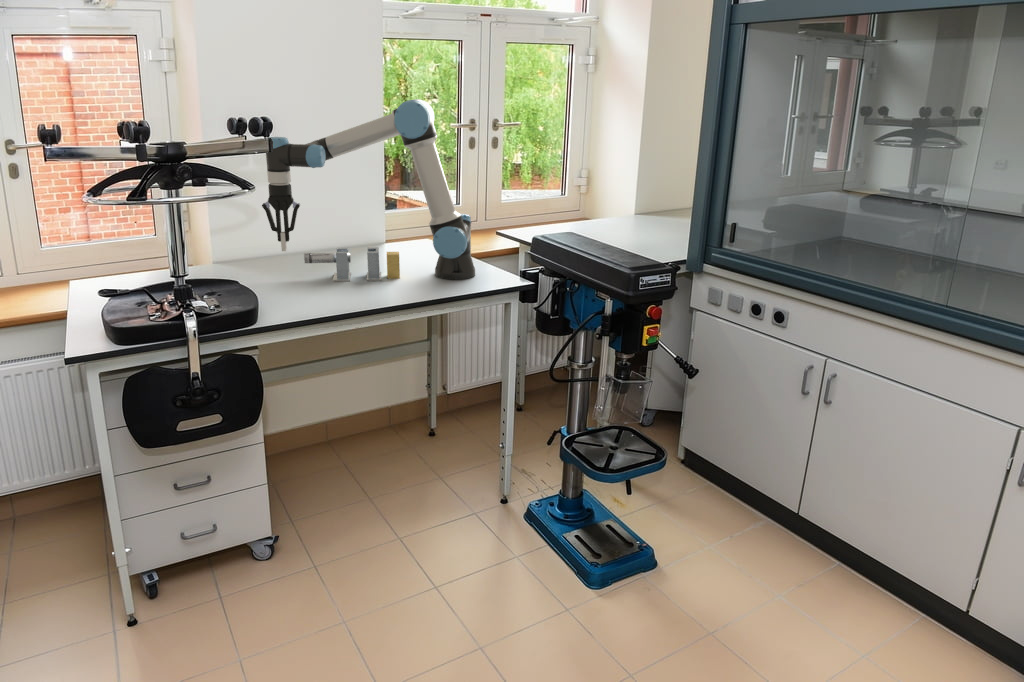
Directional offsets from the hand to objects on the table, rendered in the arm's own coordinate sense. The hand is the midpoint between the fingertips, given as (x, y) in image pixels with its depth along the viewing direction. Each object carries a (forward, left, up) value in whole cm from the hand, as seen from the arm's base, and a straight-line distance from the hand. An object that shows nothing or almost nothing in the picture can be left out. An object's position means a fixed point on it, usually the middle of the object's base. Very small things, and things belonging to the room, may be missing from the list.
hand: (284, 250), depth 262 cm
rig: (-18, -18, -11) cm, 27 cm away
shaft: (-11, -10, -5) cm, 16 cm away
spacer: (-27, -27, -11) cm, 40 cm away
